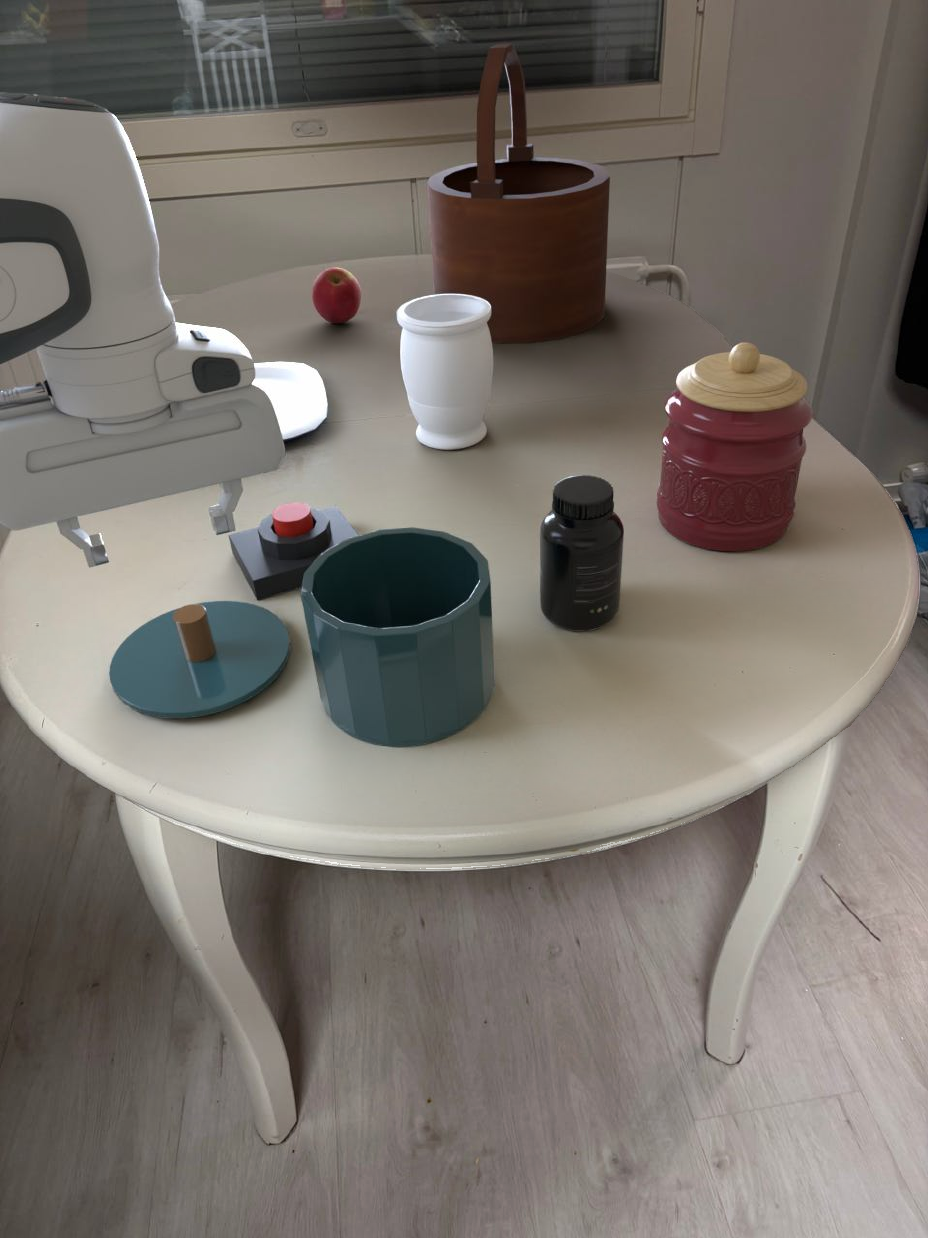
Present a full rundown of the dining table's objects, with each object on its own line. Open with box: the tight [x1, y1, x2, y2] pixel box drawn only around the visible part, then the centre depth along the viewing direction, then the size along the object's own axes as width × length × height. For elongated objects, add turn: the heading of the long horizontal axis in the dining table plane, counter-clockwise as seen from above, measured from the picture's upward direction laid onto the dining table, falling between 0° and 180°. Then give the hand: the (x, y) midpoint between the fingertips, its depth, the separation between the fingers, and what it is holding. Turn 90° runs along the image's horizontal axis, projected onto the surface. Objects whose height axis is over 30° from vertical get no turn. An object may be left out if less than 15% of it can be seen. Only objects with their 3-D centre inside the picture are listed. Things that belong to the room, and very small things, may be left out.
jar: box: [396, 294, 494, 451], centre depth 104 cm, size 11×10×15 cm
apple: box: [311, 266, 362, 324], centre depth 140 cm, size 8×8×8 cm
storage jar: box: [300, 526, 496, 748], centre depth 70 cm, size 14×14×10 cm
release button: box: [271, 501, 313, 537], centre depth 86 cm, size 4×4×2 cm
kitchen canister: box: [656, 342, 814, 552], centre depth 86 cm, size 13×13×18 cm
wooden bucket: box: [426, 42, 611, 344], centre depth 131 cm, size 26×26×35 cm
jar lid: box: [108, 600, 291, 719], centre depth 75 cm, size 15×15×5 cm
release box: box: [228, 505, 359, 601], centre depth 88 cm, size 11×9×4 cm
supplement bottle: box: [539, 474, 625, 632], centre depth 77 cm, size 7×7×12 cm
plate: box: [254, 361, 329, 442], centre depth 116 cm, size 25×25×2 cm
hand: (162, 545), depth 70 cm, fingers open, 8 cm apart
